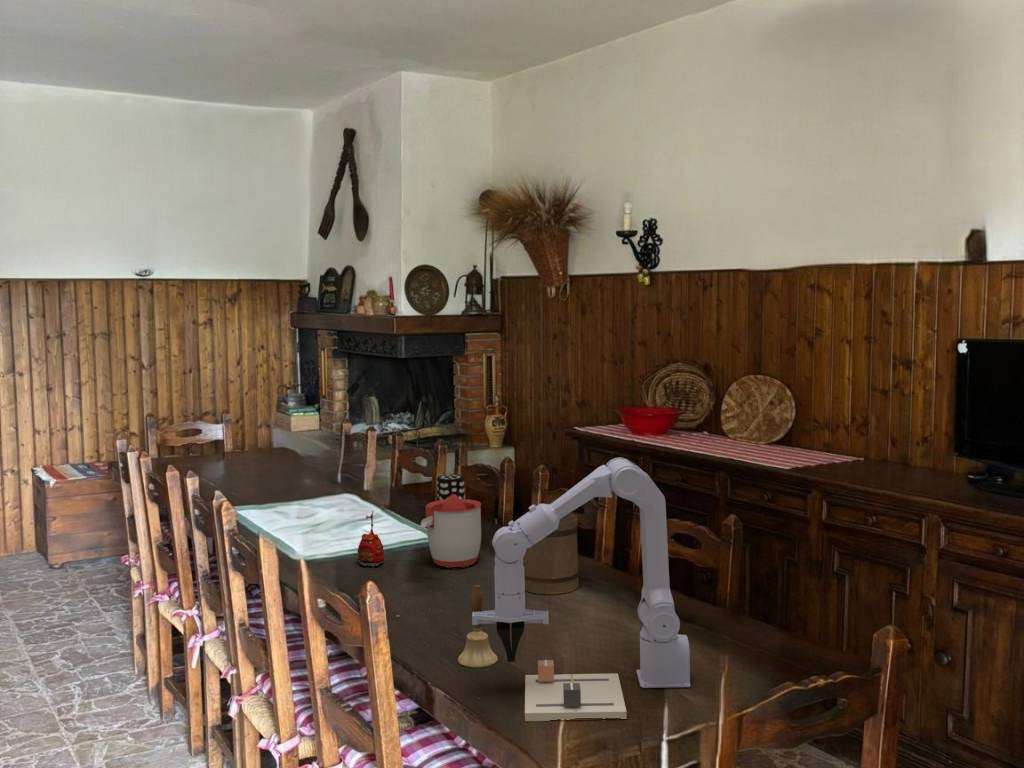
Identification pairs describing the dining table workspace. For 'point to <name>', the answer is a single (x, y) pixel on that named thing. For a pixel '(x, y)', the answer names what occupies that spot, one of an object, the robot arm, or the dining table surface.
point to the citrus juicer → (453, 531)
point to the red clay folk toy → (370, 547)
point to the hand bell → (477, 639)
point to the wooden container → (553, 560)
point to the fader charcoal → (571, 694)
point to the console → (596, 697)
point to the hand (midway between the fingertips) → (511, 659)
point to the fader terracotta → (545, 670)
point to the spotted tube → (450, 486)
